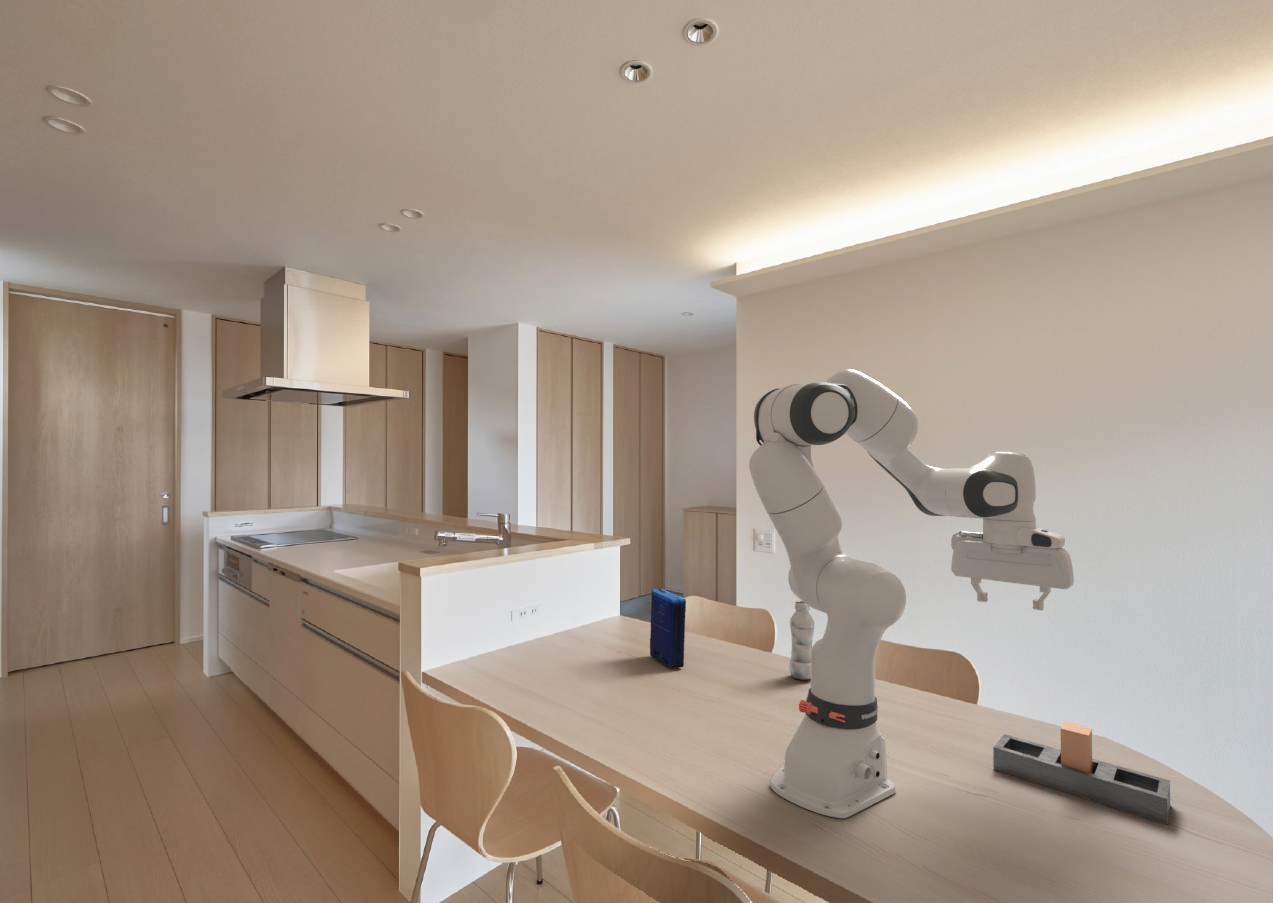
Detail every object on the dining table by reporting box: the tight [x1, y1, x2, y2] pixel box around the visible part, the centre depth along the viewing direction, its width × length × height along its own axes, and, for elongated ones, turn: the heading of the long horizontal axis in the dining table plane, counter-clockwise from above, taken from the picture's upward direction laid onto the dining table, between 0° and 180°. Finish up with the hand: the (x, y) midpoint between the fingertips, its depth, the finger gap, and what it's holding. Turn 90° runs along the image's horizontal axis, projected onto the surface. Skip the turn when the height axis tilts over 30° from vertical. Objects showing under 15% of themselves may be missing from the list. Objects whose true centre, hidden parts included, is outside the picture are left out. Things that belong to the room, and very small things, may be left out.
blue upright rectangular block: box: [649, 588, 687, 669], centre depth 168 cm, size 14×5×20 cm, turn 25°
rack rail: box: [992, 733, 1171, 826], centre depth 104 cm, size 8×24×4 cm, turn 46°
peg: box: [1060, 721, 1093, 773], centre depth 104 cm, size 4×4×10 cm
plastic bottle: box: [788, 600, 815, 681], centre depth 157 cm, size 6×7×20 cm
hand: (1009, 605), depth 115 cm, fingers open, 8 cm apart
